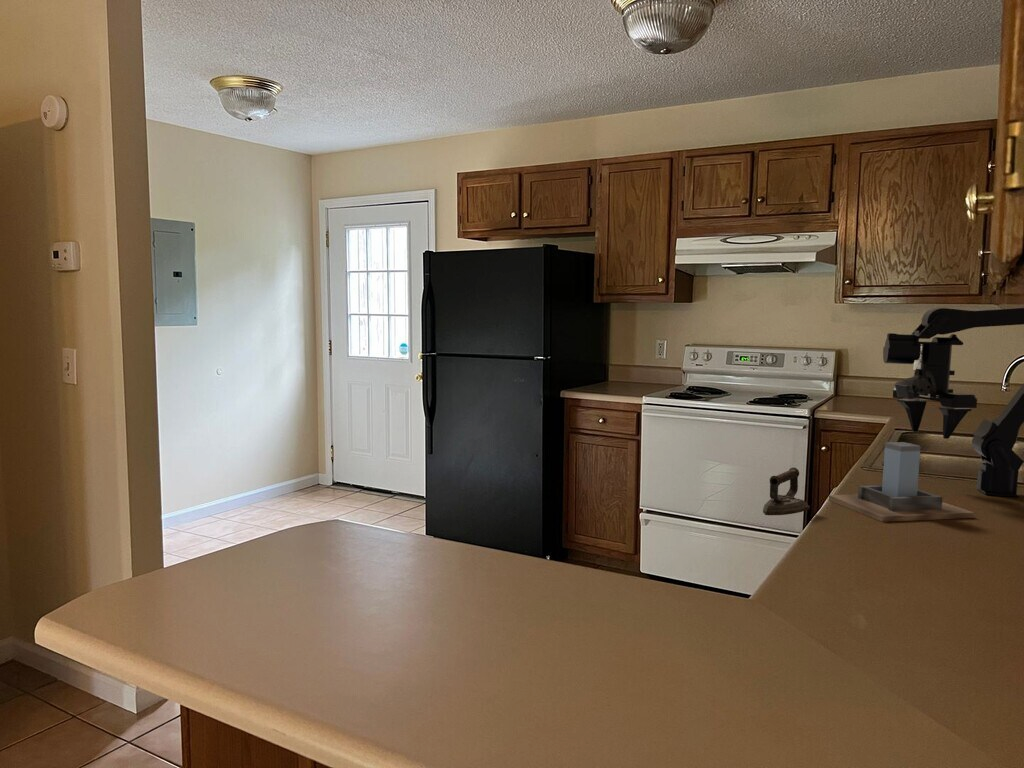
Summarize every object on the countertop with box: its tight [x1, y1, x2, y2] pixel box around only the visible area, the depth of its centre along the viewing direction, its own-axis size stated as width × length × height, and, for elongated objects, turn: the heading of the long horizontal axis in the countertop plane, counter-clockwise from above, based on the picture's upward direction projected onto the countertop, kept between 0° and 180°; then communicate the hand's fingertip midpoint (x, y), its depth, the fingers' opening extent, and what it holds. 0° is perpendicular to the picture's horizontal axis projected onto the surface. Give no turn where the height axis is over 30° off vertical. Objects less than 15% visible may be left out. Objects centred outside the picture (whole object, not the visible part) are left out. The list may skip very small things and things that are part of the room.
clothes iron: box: [762, 467, 811, 516], centre depth 143 cm, size 7×11×10 cm, turn 134°
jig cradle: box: [828, 484, 975, 523], centre depth 146 cm, size 20×16×4 cm
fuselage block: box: [881, 441, 921, 497], centre depth 146 cm, size 4×4×12 cm
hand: (930, 434), depth 163 cm, fingers open, 9 cm apart
